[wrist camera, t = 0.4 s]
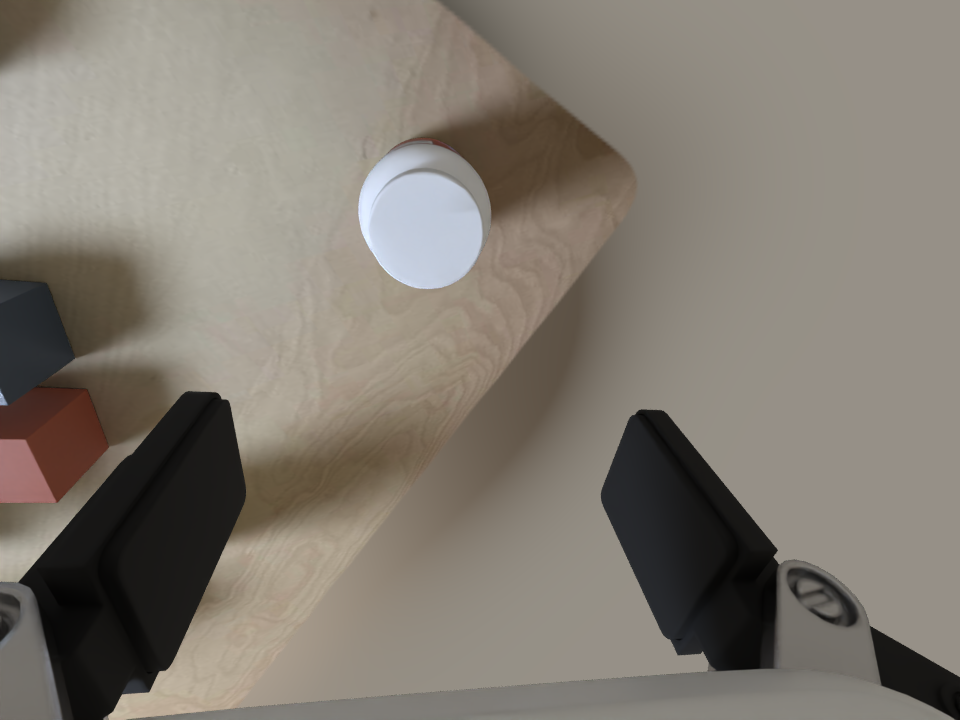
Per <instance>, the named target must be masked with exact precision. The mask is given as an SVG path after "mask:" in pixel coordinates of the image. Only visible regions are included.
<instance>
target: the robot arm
mask: <svg viewBox="0 0 960 720" xmlns="http://www.w3.org/2000/svg"><path fill="white" fill-rule="evenodd" d="M245 498H246V486H245V480H244V475H243V470H242V465H241V459H240V454H239V449H238V444H237V438H236V433H235V428H234V423H233V417H232V412H231V407H230V403H229V401H228V400H223V399H221V396H220V395H219V394H218V393H216V392H192V391H188V392H185V393H184V394H183V395H182V396H181V397H180V398H179V399H178V400H177V401H176V403H175V404H174V405H173V406H172V407H171V409H170V410H169V411H168V412H167V413H166V415H165V416H164V417H163V418H162V419H161V420H160V422H159V423H158V424H157V425H156V426H155V428H154V429H153V430H152V431H151V432H150V433H149V435H148V436H147V437H146V438H145V439H144V441H143V442H142V443H141V444H140V445H139V447H138V448H137V449H136V450H135V451H134V452H133V454H132V455H129V456H127V457H126V458H125V459H124V460H123V461H122V462H121V463H120V464H119V465H118V466H117V468H116V469H115V470H114V471H113V472H112V473H111V475H110V476H109V477H108V478H107V479H106V480H105V482H104V483H103V484H102V485H101V486H100V487H99V489H98V490H97V491H96V492H95V493H94V494H93V496H92V497H91V498H90V499H89V500H88V501H87V503H86V504H85V505H84V506H83V507H82V508H81V510H80V511H79V512H78V513H77V514H76V515H75V517H74V518H73V519H72V520H71V521H70V522H69V524H68V525H67V526H66V527H65V528H64V530H63V531H62V532H61V533H60V534H59V535H58V537H57V538H56V539H55V540H54V541H53V542H52V544H51V545H50V546H49V547H48V548H47V549H46V551H45V552H44V553H43V554H42V555H41V556H40V558H39V559H38V560H37V561H36V562H35V563H34V565H33V566H32V567H31V568H30V569H29V570H28V572H27V573H26V574H25V575H24V576H23V577H22V579H21V580H20V581H19V582H18V583H14V582H0V720H109V718H108V715H109V714H110V713H112V712H113V711H114V709H115V707H116V705H117V703H118V701H119V699H120V697H121V695H122V694H131V693H146V692H150V690H151V687H152V685H153V683H154V681H155V679H156V677H157V675H158V673H159V671H166V670H167V669H168V668H169V667H170V665H171V664H172V662H173V660H174V658H175V656H176V654H177V652H178V650H179V647H180V645H181V643H182V641H183V639H184V636H185V634H186V632H187V630H188V627H189V625H190V623H191V621H192V619H193V616H194V614H195V612H196V610H197V607H198V605H199V603H200V601H201V599H202V596H203V594H204V592H205V590H206V587H207V585H208V583H209V581H210V579H211V576H212V574H213V572H214V570H215V567H216V565H217V563H218V561H219V559H220V556H221V554H222V552H223V550H224V547H225V545H226V543H227V541H228V539H229V536H230V534H231V532H232V530H233V527H234V525H235V523H236V521H237V519H238V516H239V514H240V512H241V510H242V507H243V505H244V502H245ZM601 501H602V504H603V507H604V509H605V511H606V513H607V515H608V517H609V520H610V522H611V524H612V526H613V528H614V530H615V532H616V535H617V537H618V539H619V541H620V543H621V546H622V548H623V550H624V552H625V554H626V556H627V559H628V560H629V563H630V565H631V567H632V569H633V572H634V574H635V576H636V578H637V580H638V582H639V584H640V587H641V589H642V591H643V593H644V595H645V598H646V600H647V602H648V604H649V606H650V608H651V611H652V613H653V615H654V617H655V619H656V621H657V623H658V626H659V628H660V630H661V632H662V634H663V635H664V636H665V637H666V638H667V639H670V640H671V642H672V644H673V646H674V648H675V650H676V652H677V654H678V655H690V654H701V653H702V651H703V652H704V654H705V656H706V658H707V660H708V662H709V666H708V672H695V673H680V674H666V675H653V676H638V677H625V678H612V679H598V680H583V681H569V682H557V683H543V684H531V685H517V686H505V687H491V688H478V689H466V690H454V691H440V692H428V693H415V694H402V695H391V696H378V697H366V698H354V699H342V700H330V701H318V702H306V703H294V704H282V705H271V706H258V707H246V708H235V709H226V710H216V711H206V712H196V713H186V714H176V715H166V716H156V717H146V718H136V719H128V720H960V677H958V676H957V675H955V674H953V673H951V672H950V671H948V670H946V669H944V668H943V667H941V666H939V665H937V664H936V663H934V662H932V661H930V660H929V659H927V658H925V657H923V656H922V655H920V654H918V653H916V652H915V651H913V650H911V649H909V648H908V647H906V646H904V645H902V644H901V643H899V642H897V641H895V640H894V639H892V638H890V637H888V636H886V635H885V634H883V633H881V632H880V631H878V630H876V629H874V628H873V627H871V626H870V625H869V620H868V617H867V614H866V612H865V610H864V607H863V606H862V604H861V603H860V602H859V600H858V599H857V597H856V596H855V595H854V594H853V593H852V592H851V591H850V590H849V589H848V588H847V587H846V586H845V585H844V584H843V583H842V582H840V581H839V580H838V579H837V578H835V577H834V576H833V575H831V574H830V573H828V572H826V571H825V570H823V569H821V568H819V567H818V566H815V565H812V564H810V563H808V562H804V561H799V560H788V561H784V562H783V563H781V564H780V565H779V564H778V562H777V561H776V560H775V559H774V557H773V556H774V555H775V554H776V552H777V551H778V550H777V548H776V547H775V546H774V545H773V544H772V542H771V541H770V540H769V539H768V537H767V536H766V535H765V534H764V532H763V531H762V530H761V529H760V528H759V526H758V525H757V524H756V523H755V521H754V520H753V519H752V518H751V516H750V515H749V514H748V513H747V512H746V510H745V509H744V508H743V507H742V505H741V504H740V503H739V502H738V501H737V499H736V498H735V497H734V496H733V494H732V493H731V492H730V491H729V489H728V488H727V487H726V486H725V485H724V483H723V482H722V481H721V480H720V478H719V477H718V476H717V475H716V474H715V472H714V471H713V470H712V469H711V467H710V466H709V465H708V464H707V462H706V461H705V460H704V459H703V458H702V456H701V455H700V454H699V453H698V451H697V450H696V449H695V448H694V446H693V445H692V444H691V443H690V442H689V440H688V439H687V438H686V437H685V435H684V434H683V433H682V432H681V431H680V429H679V428H678V427H677V426H676V424H675V423H674V422H673V421H672V419H671V418H670V417H669V416H668V414H667V413H665V412H664V411H662V410H639V411H638V412H637V413H636V414H635V415H632V416H631V417H630V419H629V421H628V423H627V426H626V428H625V431H624V433H623V436H622V439H621V441H620V444H619V446H618V449H617V452H616V454H615V457H614V459H613V462H612V465H611V467H610V470H609V473H608V475H607V478H606V480H605V483H604V485H603V488H602V491H601Z"/></svg>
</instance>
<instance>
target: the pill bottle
mask: <svg viewBox="0 0 960 720" xmlns="http://www.w3.org/2000/svg"><path fill="white" fill-rule="evenodd" d="M358 210H359V221H360V226H361V230H362V233H363V236H364V239H365V241H366V243H367V245H368V246H369V248H370V249H371V251H372V252H373V254H374V255H375V257H376V258H377V260H378V262H379V263H380V265H381V266H382V267H383V268H384V269H385V271H387V272H388V273H389V274H390V275H391V276H392V277H394V278H395V279H396V280H398V281H400V282H402V283H404V284H406V285H409V286H412V287H416V288H421V289H435V288H441V287H445V286H448V285H450V284H453V283H454V282H456V281H458V280H459V279H461V278H462V277H463V276H465V275H466V274H467V273H468V272H469V271H470V270H471V268H472V267H473V266H474V264H475V263H476V261H477V259H478V257H479V255H480V253H481V251H482V249H483V248H484V246H485V243H486V241H487V238H488V235H489V231H490V226H491V205H490V200H489V196H488V193H487V190H486V188H485V186H484V183H483V182H482V180H481V178H480V176H479V175H478V173H477V172H476V171H475V169H474V168H473V167H472V166H471V165H470V164H469V163H468V162H467V161H466V160H465V159H464V158H463V157H462V156H461V155H460V154H459V153H458V152H457V151H455V150H454V149H453V148H452V147H450V146H449V145H447V144H445V143H443V142H441V141H438V140H435V139H430V138H415V139H410V140H407V141H404V142H402V143H400V144H398V145H397V146H395V147H394V148H393V149H391V150H390V151H389V152H388V153H387V154H386V155H385V156H384V157H383V158H382V159H381V160H380V161H379V162H378V163H377V164H376V165H375V166H374V167H373V169H372V170H371V172H370V173H369V175H368V176H367V178H366V180H365V182H364V184H363V187H362V190H361V194H360V199H359V209H358Z"/></svg>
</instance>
